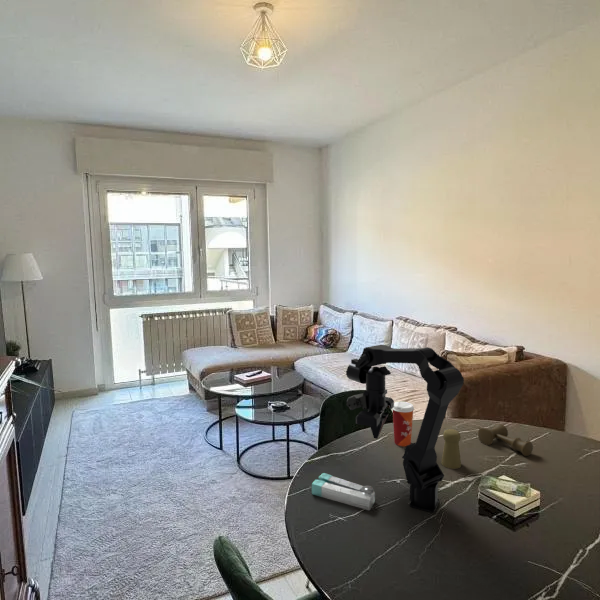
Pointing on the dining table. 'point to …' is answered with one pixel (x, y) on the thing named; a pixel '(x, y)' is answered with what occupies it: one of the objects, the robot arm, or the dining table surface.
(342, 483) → the moving jaw
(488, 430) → the kendama
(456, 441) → the cork
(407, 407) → the paper cup
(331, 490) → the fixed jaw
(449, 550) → the dining table surface
